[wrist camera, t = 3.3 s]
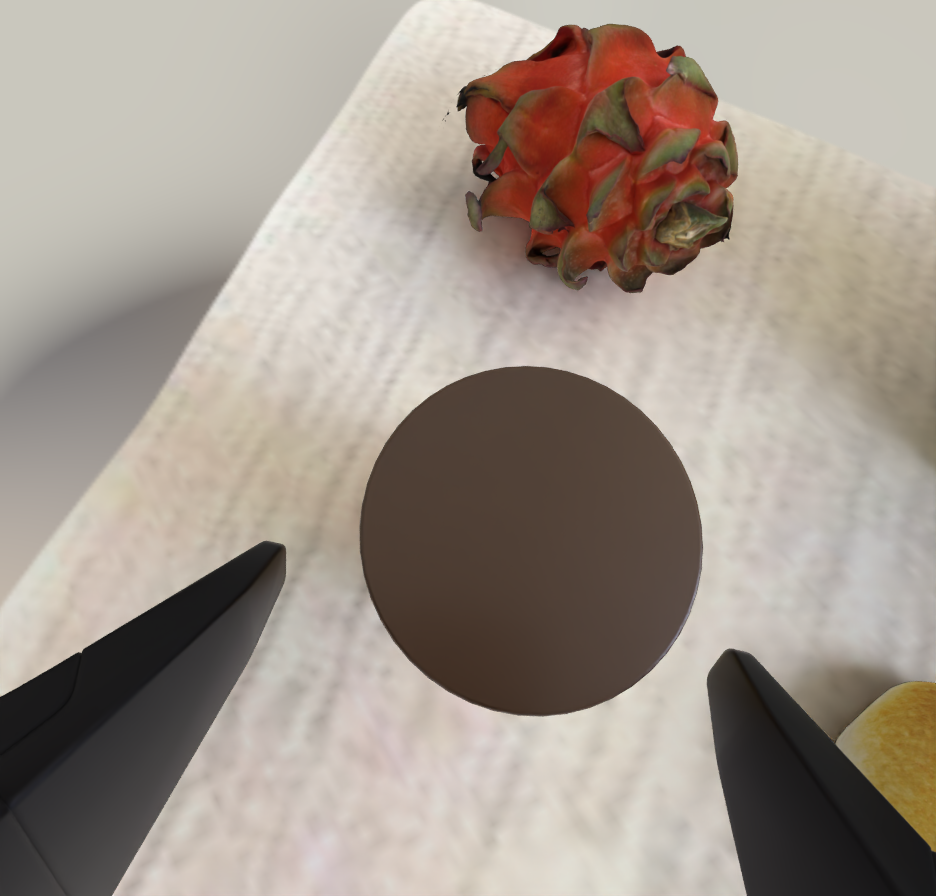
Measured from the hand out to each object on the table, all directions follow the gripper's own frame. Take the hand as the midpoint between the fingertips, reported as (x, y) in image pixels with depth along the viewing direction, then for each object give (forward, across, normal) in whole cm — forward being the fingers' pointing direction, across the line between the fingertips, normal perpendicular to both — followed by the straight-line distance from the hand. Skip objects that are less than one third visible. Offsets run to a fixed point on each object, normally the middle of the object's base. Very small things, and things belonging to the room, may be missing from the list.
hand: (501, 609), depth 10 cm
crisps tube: (+7, 0, +5) cm, 9 cm away
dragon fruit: (+18, -1, -5) cm, 19 cm away
